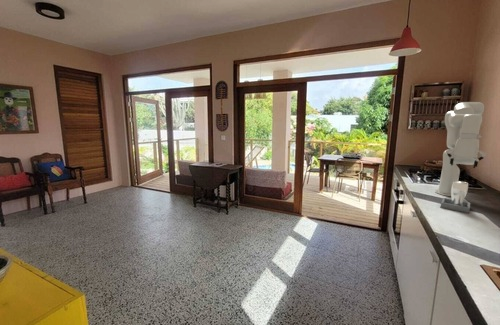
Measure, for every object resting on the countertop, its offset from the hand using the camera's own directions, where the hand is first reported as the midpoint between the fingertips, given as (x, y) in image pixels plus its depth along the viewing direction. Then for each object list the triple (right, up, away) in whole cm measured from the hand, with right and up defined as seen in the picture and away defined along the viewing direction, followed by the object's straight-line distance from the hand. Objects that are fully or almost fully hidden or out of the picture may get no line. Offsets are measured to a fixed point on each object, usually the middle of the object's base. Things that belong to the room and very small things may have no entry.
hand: (462, 166), depth 135 cm
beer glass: (0, -24, +4) cm, 24 cm away
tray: (-1, -24, +4) cm, 25 cm away
